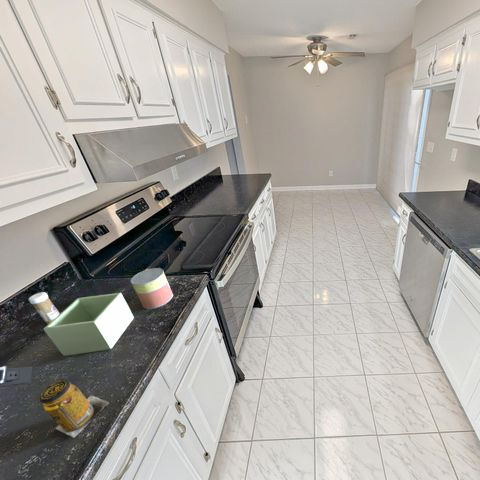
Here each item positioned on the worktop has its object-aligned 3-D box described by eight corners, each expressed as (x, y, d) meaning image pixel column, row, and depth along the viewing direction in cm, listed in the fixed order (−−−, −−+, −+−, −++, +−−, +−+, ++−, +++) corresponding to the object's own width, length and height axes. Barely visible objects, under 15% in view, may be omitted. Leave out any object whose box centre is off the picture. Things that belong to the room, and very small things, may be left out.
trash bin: (63, 356, 82) (43, 329, 77) (93, 323, 95) (77, 298, 90) (111, 349, 83) (94, 322, 78) (134, 317, 96) (121, 292, 91)
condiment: (55, 429, 62) (26, 399, 57) (91, 395, 69) (69, 366, 64) (74, 438, 60) (47, 408, 55) (110, 403, 67) (89, 373, 62)
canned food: (178, 296, 107) (168, 272, 101) (150, 312, 98) (138, 287, 93) (164, 288, 113) (155, 265, 107) (137, 302, 104) (125, 279, 99)
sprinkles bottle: (63, 324, 96) (44, 296, 90) (47, 330, 93) (26, 301, 87) (65, 317, 99) (46, 290, 93) (50, 323, 97) (29, 295, 91)
